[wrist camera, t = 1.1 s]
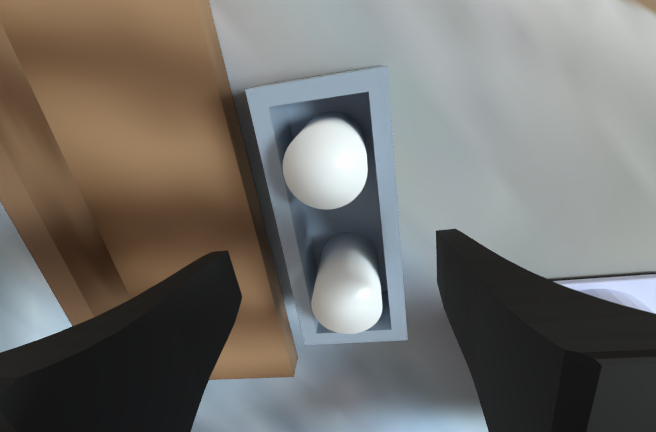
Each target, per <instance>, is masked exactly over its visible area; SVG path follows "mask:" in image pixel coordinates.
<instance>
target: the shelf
mask: <svg viewBox="0 0 656 432" xmlns="http://www.w3.org/2000/svg"><path fill="white" fill-rule="evenodd" d="M0 201H1V203H2V205H3V206H4V208H5V210H6V212H7V213H8V215H9V217H10V219H11V220H12V222H13V224H14V226H15V227H16V229H17V231H18V232H19V234H20V236H21V238H22V239H23V241H24V243H25V245H26V246H27V248H28V250H29V252H30V253H31V255H32V257H33V258H34V260H35V262H36V264H37V265H38V267H39V269H40V271H41V272H42V274H43V276H44V278H45V279H46V281H47V283H48V284H49V286H50V288H51V290H52V291H53V293H54V295H55V297H56V298H57V300H58V302H59V303H60V305H61V307H62V309H63V310H64V312H65V314H66V316H67V317H68V319H69V321H70V323H71V324H72V326H75V325H77V324H79V323H82V322H84V321H87V320H89V319H91V318H94V317H96V316H98V315H100V314H102V313H104V312H106V311H108V310H110V309H112V308H114V307H116V306H119V305H120V304H122V303H124V302H126V301H128V300H130V299H132V298H134V297H135V296H137V295H139V294H141V293H142V292H144V291H146V290H147V289H149V288H151V287H153V286H154V285H156V284H158V283H159V282H161V281H163V280H164V279H166V278H168V277H169V276H171V275H172V274H174V273H176V272H177V271H179V270H181V269H182V268H184V267H185V266H187V265H189V264H190V263H192V262H194V261H195V260H197V259H199V258H200V257H202V256H204V255H206V254H208V253H210V252H215V251H226V250H228V252H229V255H230V259H231V262H232V265H233V268H234V271H235V275H236V278H237V281H238V284H239V288H240V291H241V294H242V300H241V304H240V308H239V312H238V315H237V318H236V321H235V324H234V326H233V328H232V330H231V333H230V335H229V337H228V339H227V341H226V344H225V346H224V348H223V350H222V352H221V354H220V357H219V359H218V361H217V363H216V365H215V367H214V369H213V372H212V374H211V376H210V378H209V380H215V379H243V378H271V377H294V373H295V368H296V364H297V359H298V357H297V353H296V349H295V345H294V341H293V337H292V333H291V329H290V325H289V321H288V317H287V313H286V309H285V305H284V301H283V297H282V293H281V289H280V285H279V281H278V277H277V273H276V269H275V265H274V261H273V257H272V253H271V249H270V245H269V241H268V237H267V233H266V229H265V225H264V221H263V217H262V213H261V209H260V205H259V201H258V197H257V193H256V189H255V185H254V181H253V177H252V173H251V169H250V165H249V160H248V156H247V152H246V148H245V144H244V140H243V136H242V132H241V128H240V124H239V120H238V116H237V112H236V108H235V104H234V100H233V96H232V92H231V88H230V84H229V80H228V76H227V72H226V68H225V64H224V60H223V56H222V52H221V48H220V44H219V40H218V36H217V32H216V28H215V24H214V20H213V16H212V12H211V8H210V4H209V0H0Z"/></svg>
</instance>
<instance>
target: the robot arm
mask: <svg viewBox="0 0 656 432" xmlns="http://www.w3.org/2000/svg"><path fill="white" fill-rule="evenodd" d="M436 249H437V283H438V287H439V291H440V295H441V299H442V302H443V306H444V309H445V312H446V314H447V317H448V319H449V322H450V324H451V326H452V329H453V331H454V334H455V336H456V338H457V341H458V343H459V346H460V348H461V350H462V353H463V355H464V357H465V360H466V362H467V365H468V367H469V370H470V372H471V375H472V378H473V381H474V383H475V387H476V390H477V393H478V397H479V400H480V403H481V407H482V410H483V413H484V417H485V420H486V424H487V427H488V431H489V432H656V274H650V275H635V276H621V277H606V278H591V279H577V280H562V281H551V280H548V279H546V278H544V277H541V276H539V275H536V274H534V273H532V272H530V271H528V270H526V269H524V268H522V267H520V266H518V265H516V264H514V263H512V262H510V261H508V260H506V259H505V258H503V257H501V256H499V255H498V254H496V253H494V252H492V251H491V250H489V249H487V248H486V247H484V246H483V245H481V244H479V243H478V242H476V241H475V240H473V239H471V238H470V237H468V236H467V235H465V234H463V233H462V232H460V231H458V230H457V229H449V230H439V231H436ZM241 300H242V294H241V291H240V288H239V284H238V281H237V278H236V275H235V271H234V268H233V265H232V262H231V259H230V255H229V252H228V250H226V251H215V252H210V253H208V254H206V255H204V256H202V257H200V258H199V259H197V260H195V261H194V262H192V263H190V264H189V265H187V266H185V267H184V268H182V269H181V270H179V271H177V272H176V273H174V274H172V275H171V276H169V277H168V278H166V279H164V280H163V281H161V282H159V283H158V284H156V285H154V286H153V287H151V288H149V289H147V290H146V291H144V292H142V293H141V294H139V295H137V296H135V297H134V298H132V299H130V300H128V301H126V302H124V303H122V304H120V305H119V306H116V307H114V308H112V309H110V310H108V311H106V312H104V313H102V314H100V315H98V316H96V317H94V318H91V319H89V320H87V321H84V322H82V323H79V324H77V325H75V326H72V327H70V328H68V329H65V330H63V331H61V332H58V333H56V334H53V335H50V336H48V337H45V338H42V339H39V340H37V341H34V342H31V343H28V344H25V345H22V346H20V347H17V348H14V349H11V350H8V351H5V352H1V353H0V432H191V429H192V425H193V422H194V419H195V416H196V413H197V410H198V407H199V404H200V402H201V399H202V396H203V393H204V390H205V388H206V385H207V383H208V380H209V378H210V376H211V374H212V372H213V369H214V367H215V365H216V363H217V361H218V359H219V357H220V354H221V352H222V350H223V348H224V346H225V344H226V341H227V339H228V337H229V335H230V333H231V330H232V328H233V326H234V324H235V321H236V318H237V315H238V312H239V308H240V304H241Z"/></svg>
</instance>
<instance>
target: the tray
mask: <svg viewBox="0 0 656 432" xmlns="http://www.w3.org/2000/svg"><path fill="white" fill-rule="evenodd" d="M245 92H246V96H247V100H248V104H249V109H250V113H251V117H252V121H253V126H254V130H255V134H256V139H257V143H258V147H259V151H260V156H261V160H262V164H263V169H264V173H265V177H266V181H267V186H268V190H269V194H270V198H271V203H272V207H273V211H274V216H275V220H276V224H277V228H278V233H279V237H280V241H281V246H282V250H283V254H284V258H285V263H286V267H287V271H288V275H289V280H290V284H291V288H292V293H293V297H294V301H295V305H296V310H297V314H298V318H299V323H300V327H301V331H302V335H303V340H304V344H305V345H320V344H341V343H361V342H382V341H402V340H408V337H407V323H406V310H405V296H404V282H403V269H402V255H401V241H400V228H399V214H398V200H397V187H396V173H395V160H394V146H393V132H392V119H391V105H390V91H389V78H388V66H375V67H369V68H363V69H357V70H350V71H344V72H338V73H332V74H326V75H320V76H313V77H307V78H301V79H295V80H289V81H283V82H276V83H271V84H266V85H262V86H257V87H253V88H249V89H245Z"/></svg>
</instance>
